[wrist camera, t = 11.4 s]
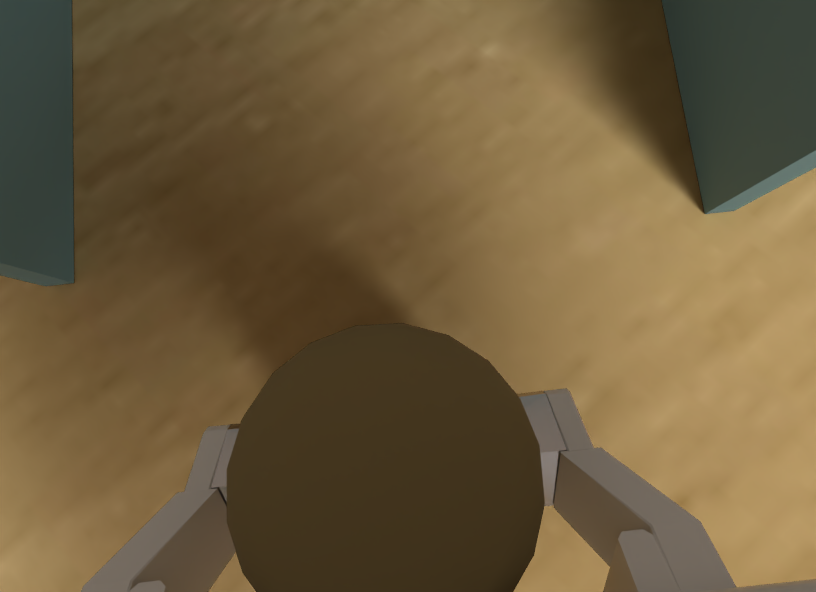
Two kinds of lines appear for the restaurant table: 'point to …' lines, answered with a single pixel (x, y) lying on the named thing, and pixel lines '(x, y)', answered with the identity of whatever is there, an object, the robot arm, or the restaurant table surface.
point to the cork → (385, 470)
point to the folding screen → (694, 62)
